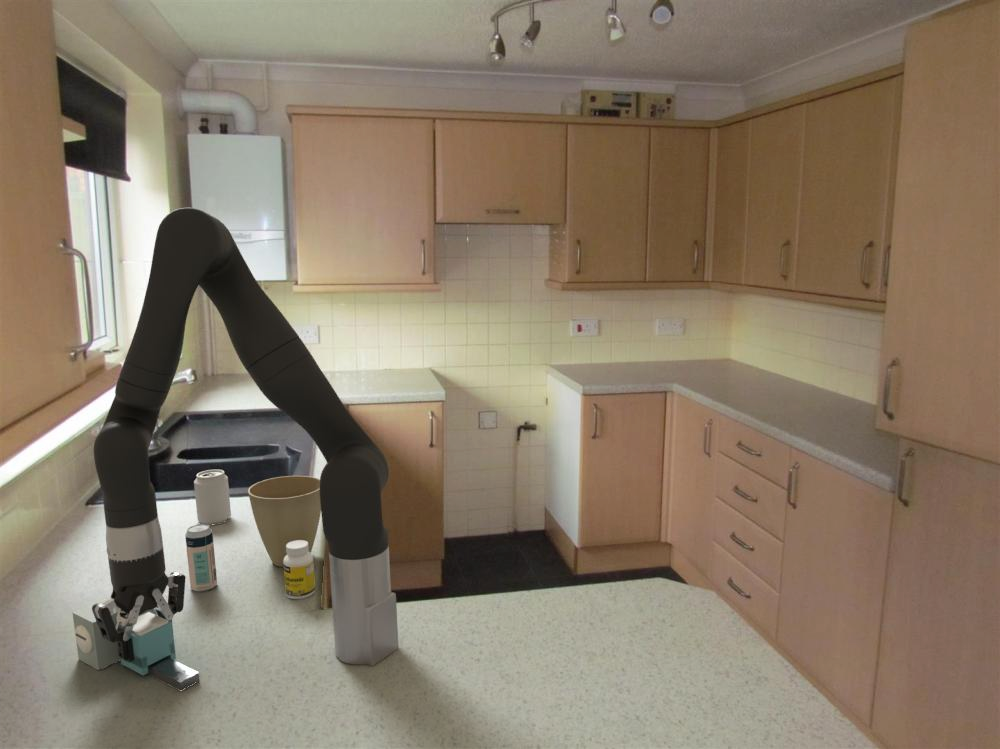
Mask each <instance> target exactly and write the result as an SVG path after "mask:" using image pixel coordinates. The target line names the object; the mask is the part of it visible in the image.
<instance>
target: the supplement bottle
mask: <svg viewBox="0 0 1000 749" xmlns="http://www.w3.org/2000/svg"><path fill="white" fill-rule="evenodd" d="M308 551H309V546H308V542H307V541H304V540H296V541H292V542H289V543H288V544H287V545H286V552H287V555H286V556H285V557H284V560H283V566H284V567H283V573H284V575H283V576H284V589H285V596H286V597H287V598H289V599H291V600H301V599H302V600H303V599H306V598H310V596H313V594H314V593H315V592H316V579H315V577H316V576H315V565H314V564H315V563H314V556H313V554H312V552H311V553H310V552H308Z"/></svg>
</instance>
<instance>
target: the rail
mask: <svg viewBox="0 0 1000 749" xmlns="http://www.w3.org/2000/svg"><path fill="white" fill-rule="evenodd" d="M147 667H148V674H147V675H149V676H150V675H151V677H152V676H153V677H152V678H154V677H155V679H156V678H157V680H158V679H159V680H158V681H160V680H161V681H160V682H162V681H163V682H162V683H164V682H165V683H164V684H166V683H167V684H169V685H171V686H173V687H175V688H177V689H179V690H183V689H184V688H187V687H188V686H190V685H192V684H194V683H195V682H198V681H200V674H199V671H197V670H195V669H193V668H191V667H188V666H187V665H185V664H183V663H180V662H178V661H176V659H174V660H173V659H171V658H169V657H165V658H163V659H161V660H159V661H157V662H155V663H153V664H151V665H149V666H147ZM198 683H199V682H198ZM167 684H166V685H167ZM169 685H168V686H169ZM194 685H195V684H194ZM171 686H170V687H171ZM173 687H172V688H173ZM175 688H174V689H175ZM177 689H176V690H177ZM187 689H188V688H187ZM179 690H178V691H179Z"/></svg>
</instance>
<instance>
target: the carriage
mask: <svg viewBox="0 0 1000 749" xmlns="http://www.w3.org/2000/svg"><path fill="white" fill-rule="evenodd" d="M172 625H173V621H172V622H170V621H168V620H166V619H164V618H161V617H159V616H158V615H155V614H152V613H150V612H147V613H145V614H143V615H141V616H138V619H137V623H136V624H135V625H134V626H133V630H132V634H131V637H130V638H132V642H133V651H134V661H132V662H130V663H129V662H127V661H125V660H123V659H121V660H120V664H121V665H122V666H125V667H127V668H129V669H130V670H132V671H134V672H136V673H138V674H140V676H145V675H148V674H147V673H148V667H147V666H149V665H151V664H153V663H155V662H157V661H159V660H161V659H163V658H165V657H169V658H171V659H173V660H176V659H177V656H176V655H177V654H176V647H175V646H176V644H175V638H174V637H175V635H174V627H173V626H172Z"/></svg>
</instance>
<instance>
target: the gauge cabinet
mask: <svg viewBox="0 0 1000 749" xmlns="http://www.w3.org/2000/svg"><path fill="white" fill-rule="evenodd" d="M109 599H111V596H110V597H107V598H105V599H102V600H100V601H97V602H95V603H93V604H91V605H88V606H85V607H83V608H80V609H78V610H76V611H73V612H72V618H73V625H74V636H75V640H76V641H75V642H76V649H77V658H78V660H79V661H81V662H83V663H84V664H87V665H88V666H90V667H91V666H92V667H91V668H93V669H94V670H96V671H98V670H99V671H101V670H103V669H105V667H106V668H108V667H110V666H111V664H112V665H114V664H116V663H117V662H116V661H118V662H119V660H120V661H121V658H120V657H119V655H118V647H117V641H116V642H114V643H113V642H110V641H108V640H107V639H105V638H103V637H102V635H101V632H100V630H99V627H98V624H97V622H96V619H95V616H94V614H93V611H92V607H93V605H94V604H96V603H98V604H102V603H104V602H106V601H107V600H109ZM118 610H119V607H117V606H116V605H115V606H114V608H113V613H114V614H113V615H112V616H111V617H112V619H113V622H114V625H115V628H116V625H117V619H116V618H117V614H118ZM147 612H150V613H152V614H155V615H157V613H156V612H155V610H154V609H152V610H147V611H145V612H144V613H142V614H140V615H138V616H141V615H143V614H145V613H147ZM127 616H128V617H129V614H127ZM157 616H158V615H157ZM115 662H116V663H115ZM113 663H114V664H113ZM109 665H110V666H109ZM107 666H108V667H107ZM100 669H101V670H100Z"/></svg>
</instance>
